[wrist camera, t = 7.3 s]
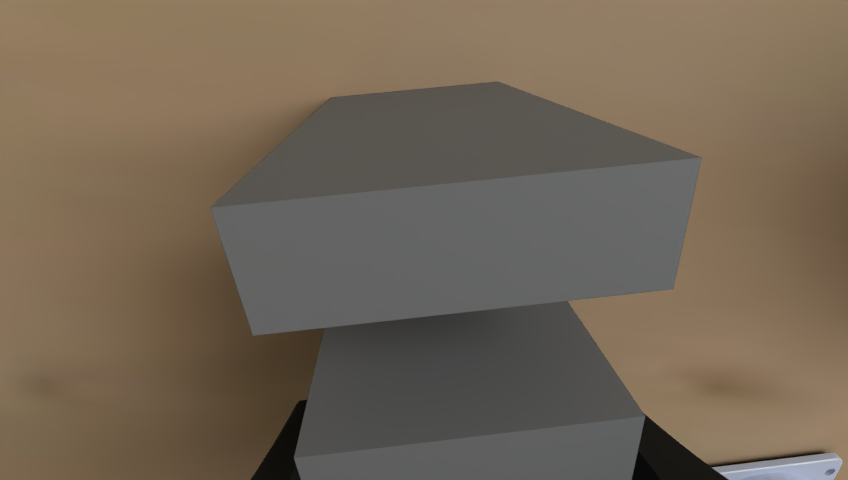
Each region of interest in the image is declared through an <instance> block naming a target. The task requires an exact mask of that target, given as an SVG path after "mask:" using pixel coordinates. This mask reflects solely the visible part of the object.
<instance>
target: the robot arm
mask: <svg viewBox="0 0 848 480" xmlns="http://www.w3.org/2000/svg"><path fill="white" fill-rule="evenodd" d="M306 404H307V400H302V401H299V402H298V403H297V404H296V406H295V408H294V410H293V412H292V413H291V415H290V417H289V419H288V420H287V422H286V424H285V426H284V427H283V429H282V431H281V432H280V434H279V436H278V437H277V439H276V441H275V442H274V444H273V446H272V447H271V449H270V451H269V452H268V454H267V455H266V457H265V458H264V460H263V462H262V463H261V465H260V466H259V468H258V469H257V471H256V472H255V474H254V476H253V477H252V479H251V480H301V478H300V475H299V472H298V469H297V466H296V463H295V460H294V455H295V451H296V447H297V443H298V438H299V434H300V430H301V426H302V421H303V417H304V413H305V409H306ZM643 414H644V413H643ZM644 415H645V414H644ZM842 463H843V461H842V459H841V458H840V457H839V456H837V455H836V454H835V453H823V454H815V455H807V456H799V457H791V458H783V459H775V460H767V461H759V462H751V463H743V464H734V465H726V466H718V467H710V466H709V465H707V464H706V463H705V462H703V461H702V460H701V459H699V458H698V457H697V456H695V455H694V454H693V453H691V452H690V451H689V450H688V449H686V448H685V447H684V446H683V445H681V444H680V443H679V442H677V441H676V440H675V439H674V438H672V437H671V436H670V435H669V434H668V433H666V432H665V431H664V430H663V429H662V428H660V427H659V426H658V425H657V424H656V423H654V422H653V421H652V420H651V419H650V418H649V417H647V416H646V415H645V420H644V425H643V430H642V434H641V439H640V443H639V448H638V453H637V457H636V462H635V467H634V471H633V476H632V480H834V478H835V476H836V475H837V473H838V471H839V469H840V467H841V466H842Z"/></svg>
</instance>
